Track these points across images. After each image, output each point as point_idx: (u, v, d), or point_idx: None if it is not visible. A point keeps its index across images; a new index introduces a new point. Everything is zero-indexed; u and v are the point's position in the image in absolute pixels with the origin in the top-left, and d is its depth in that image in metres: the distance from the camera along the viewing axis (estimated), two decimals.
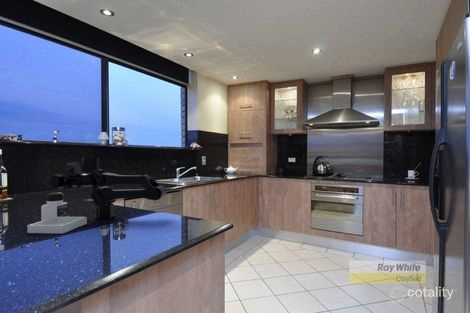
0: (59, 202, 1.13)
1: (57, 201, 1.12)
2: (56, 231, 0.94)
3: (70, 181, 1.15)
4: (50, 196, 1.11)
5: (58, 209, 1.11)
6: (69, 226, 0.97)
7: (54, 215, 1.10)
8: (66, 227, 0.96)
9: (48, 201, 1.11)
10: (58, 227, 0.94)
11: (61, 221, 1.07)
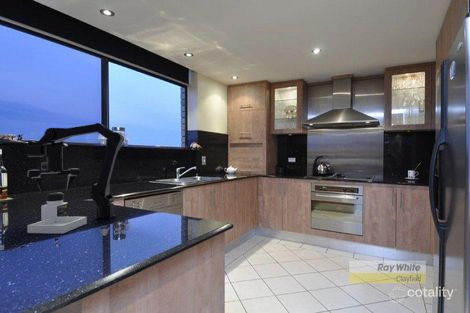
0: (59, 202, 1.13)
1: (57, 201, 1.12)
2: (56, 231, 0.94)
3: (47, 167, 1.12)
4: (50, 196, 1.11)
5: (58, 209, 1.11)
6: (69, 226, 0.97)
7: (54, 215, 1.10)
8: (66, 227, 0.96)
9: (48, 201, 1.11)
10: (58, 227, 0.94)
11: (61, 221, 1.07)
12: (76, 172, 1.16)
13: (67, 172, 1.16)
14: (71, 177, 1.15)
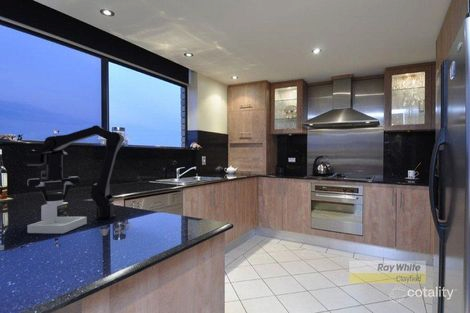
0: (59, 202, 1.13)
1: (57, 201, 1.12)
2: (56, 231, 0.94)
3: (46, 176, 1.12)
4: (50, 196, 1.11)
5: (58, 209, 1.11)
6: (69, 226, 0.97)
7: (54, 215, 1.10)
8: (66, 227, 0.96)
9: (48, 201, 1.11)
10: (58, 227, 0.94)
11: (61, 221, 1.07)
12: (76, 180, 1.16)
13: (63, 180, 1.15)
14: (67, 186, 1.14)
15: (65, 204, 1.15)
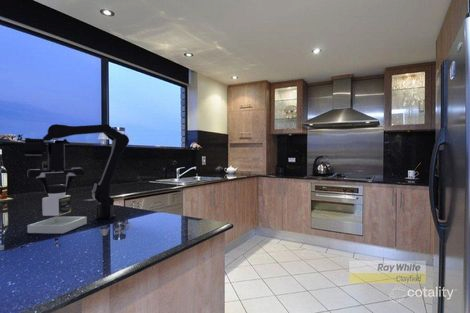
0: (61, 194, 1.05)
1: (59, 193, 1.04)
2: (56, 231, 0.94)
3: (48, 166, 1.04)
4: (51, 188, 1.03)
5: (60, 201, 1.03)
6: (69, 226, 0.97)
7: (56, 208, 1.03)
8: (66, 227, 0.96)
9: (49, 193, 1.04)
10: (58, 227, 0.94)
11: (61, 221, 1.07)
12: (79, 171, 1.09)
13: (66, 172, 1.08)
14: (70, 177, 1.07)
15: (68, 197, 1.08)
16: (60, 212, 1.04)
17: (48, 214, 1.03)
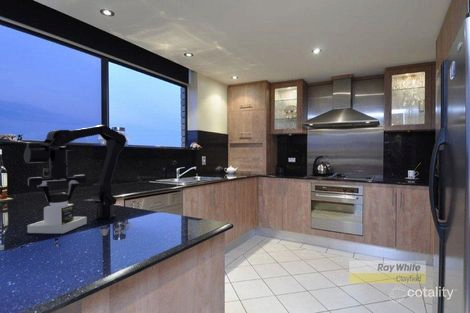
0: (64, 203, 1.00)
1: (61, 202, 0.99)
2: (56, 231, 0.94)
3: (49, 174, 0.99)
4: (54, 197, 0.98)
5: (62, 211, 0.98)
6: (69, 226, 0.97)
7: (58, 218, 0.98)
8: (66, 227, 0.96)
9: (51, 202, 0.98)
10: (58, 227, 0.94)
11: None
12: (82, 179, 1.04)
13: (68, 179, 1.03)
14: (73, 185, 1.02)
15: (70, 206, 1.03)
16: (63, 223, 0.98)
17: (50, 224, 0.98)
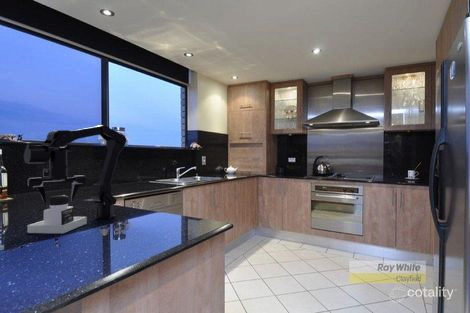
0: (64, 206, 1.00)
1: (61, 205, 0.99)
2: (56, 231, 0.94)
3: (49, 174, 0.99)
4: (54, 199, 0.98)
5: (62, 214, 0.98)
6: (69, 226, 0.97)
7: (58, 221, 0.97)
8: (66, 227, 0.96)
9: (51, 205, 0.98)
10: (58, 227, 0.94)
11: None
12: (82, 180, 1.04)
13: (71, 180, 1.03)
14: (76, 185, 1.03)
15: (70, 208, 1.03)
16: None
17: None
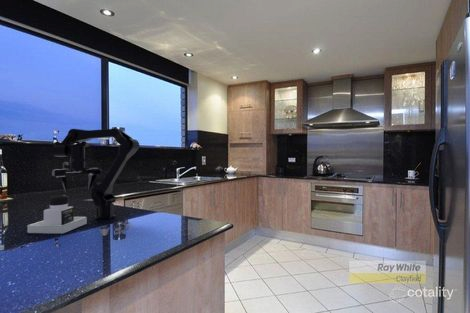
0: (64, 206, 1.00)
1: (61, 205, 0.99)
2: (56, 231, 0.94)
3: (70, 167, 1.16)
4: (53, 199, 0.98)
5: (62, 214, 0.98)
6: (69, 226, 0.97)
7: (58, 221, 0.97)
8: (66, 227, 0.96)
9: (51, 205, 0.98)
10: (58, 227, 0.94)
11: None
12: (98, 171, 1.21)
13: (89, 171, 1.21)
14: (93, 176, 1.20)
15: (70, 208, 1.03)
16: None
17: None
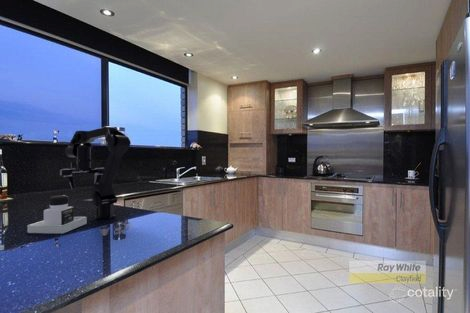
0: (64, 206, 1.00)
1: (61, 205, 0.99)
2: (56, 231, 0.94)
3: (77, 167, 1.22)
4: (54, 199, 0.98)
5: (62, 214, 0.98)
6: (69, 226, 0.97)
7: (58, 221, 0.97)
8: (66, 227, 0.96)
9: (51, 205, 0.98)
10: (58, 227, 0.94)
11: None
12: (103, 171, 1.27)
13: (94, 171, 1.27)
14: (98, 176, 1.26)
15: (70, 208, 1.03)
16: None
17: None
